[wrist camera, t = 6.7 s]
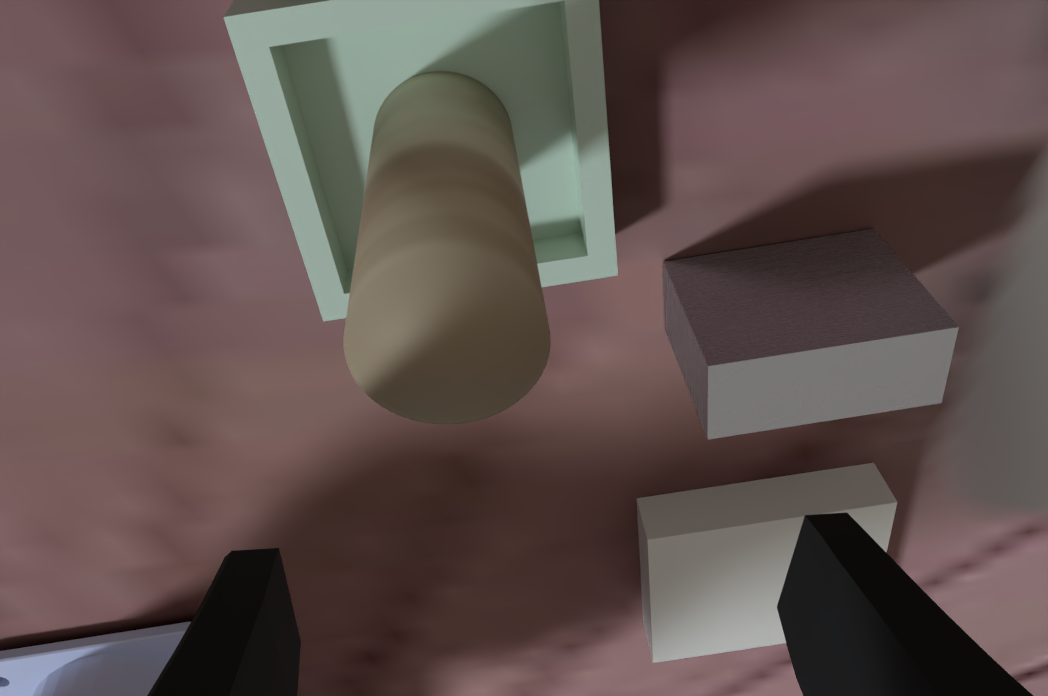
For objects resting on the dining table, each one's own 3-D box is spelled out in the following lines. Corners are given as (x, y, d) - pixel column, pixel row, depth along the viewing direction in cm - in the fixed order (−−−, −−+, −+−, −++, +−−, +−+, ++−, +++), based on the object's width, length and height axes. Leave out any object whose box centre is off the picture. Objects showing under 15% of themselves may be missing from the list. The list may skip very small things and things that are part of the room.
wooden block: (864, 298, 21) (941, 403, 18) (665, 329, 21) (707, 439, 18) (873, 228, 20) (958, 327, 17) (663, 261, 20) (708, 366, 17)
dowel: (520, 193, 18) (558, 409, 12) (389, 211, 18) (368, 436, 12) (504, 61, 16) (539, 244, 11) (358, 81, 16) (320, 274, 11)
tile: (845, 579, 29) (869, 630, 27) (640, 610, 29) (653, 662, 27) (867, 452, 25) (897, 501, 24) (633, 487, 25) (647, 539, 24)
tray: (606, 240, 20) (618, 275, 18) (329, 284, 20) (323, 321, 18) (582, -60, 16) (595, -42, 14) (238, -7, 16) (223, 17, 14)
